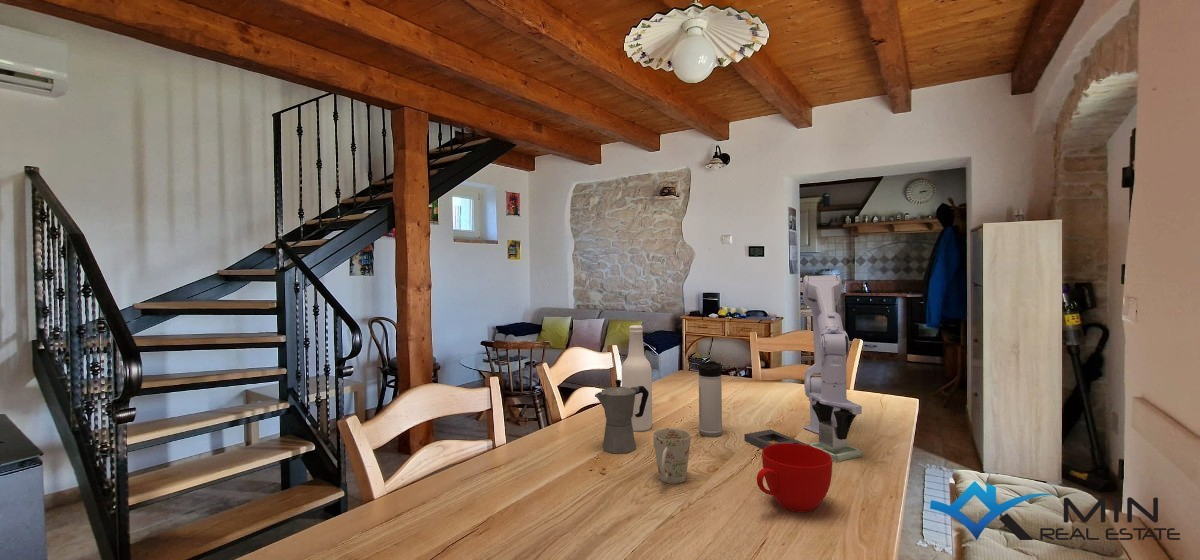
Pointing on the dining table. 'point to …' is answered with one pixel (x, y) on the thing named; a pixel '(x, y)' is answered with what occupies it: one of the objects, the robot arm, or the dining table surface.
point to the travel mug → (710, 399)
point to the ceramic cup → (796, 475)
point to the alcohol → (638, 378)
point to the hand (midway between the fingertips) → (834, 435)
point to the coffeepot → (620, 416)
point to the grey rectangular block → (830, 436)
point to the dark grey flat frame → (769, 438)
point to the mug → (672, 454)
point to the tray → (841, 452)
